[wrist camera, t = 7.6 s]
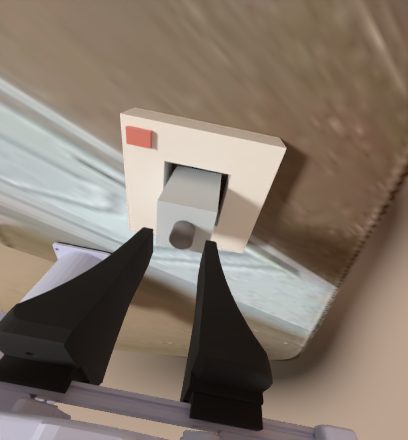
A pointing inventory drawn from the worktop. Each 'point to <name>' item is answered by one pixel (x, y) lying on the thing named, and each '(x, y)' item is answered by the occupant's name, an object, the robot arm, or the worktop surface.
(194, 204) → the plug
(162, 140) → the socket box
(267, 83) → the worktop surface
